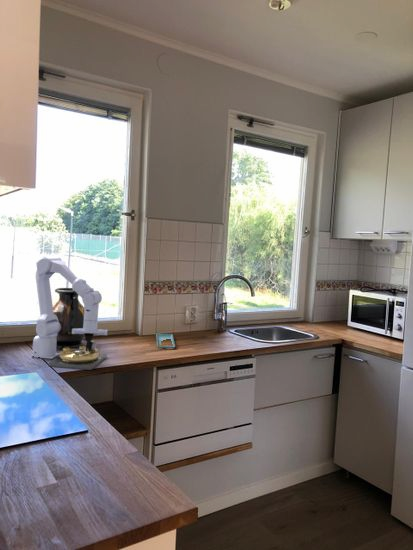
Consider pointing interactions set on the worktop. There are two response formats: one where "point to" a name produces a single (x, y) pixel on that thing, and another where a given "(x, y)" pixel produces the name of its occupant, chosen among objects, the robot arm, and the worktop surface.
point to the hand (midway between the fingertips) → (88, 350)
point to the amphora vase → (69, 319)
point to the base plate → (84, 365)
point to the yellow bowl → (80, 354)
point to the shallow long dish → (163, 337)
